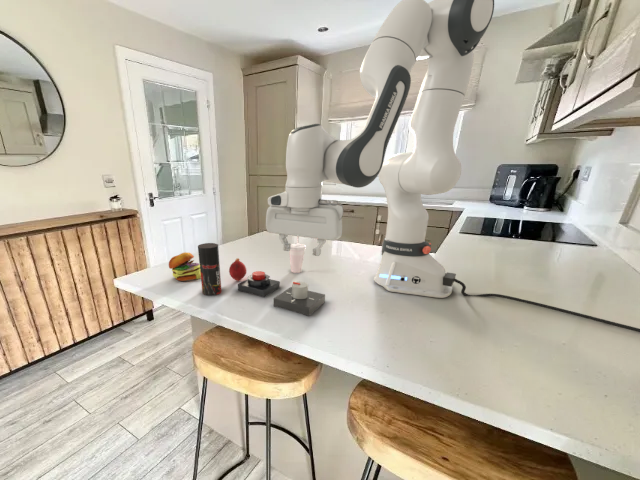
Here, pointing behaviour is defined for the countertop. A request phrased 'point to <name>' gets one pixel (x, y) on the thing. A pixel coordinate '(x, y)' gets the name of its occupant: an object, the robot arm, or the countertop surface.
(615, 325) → the robot arm
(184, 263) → the cheeseburger
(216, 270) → the deodorant
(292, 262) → the smoothie
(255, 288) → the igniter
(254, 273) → the button
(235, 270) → the onion
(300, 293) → the hob knob
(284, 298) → the hob panel
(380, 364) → the countertop surface
